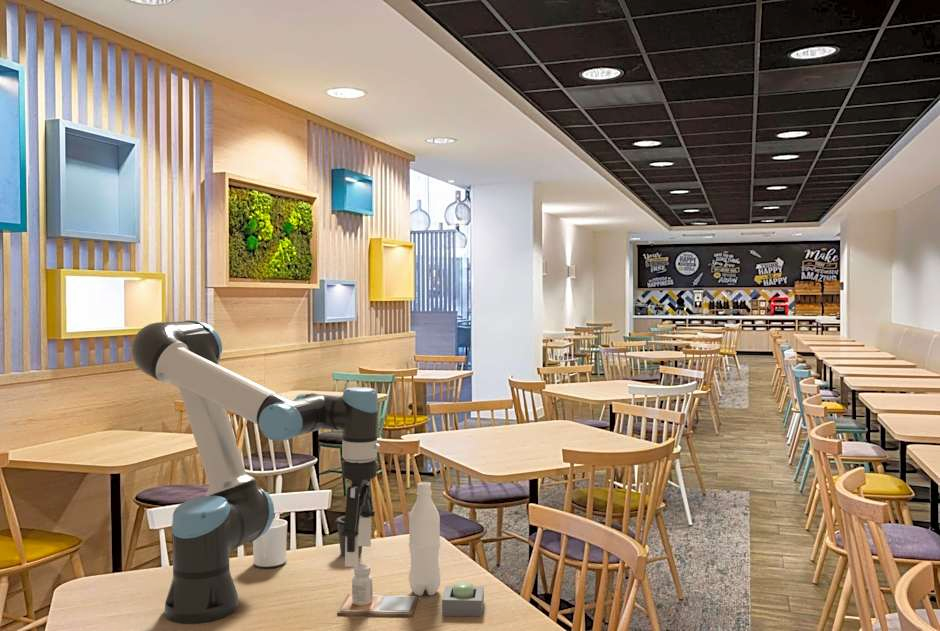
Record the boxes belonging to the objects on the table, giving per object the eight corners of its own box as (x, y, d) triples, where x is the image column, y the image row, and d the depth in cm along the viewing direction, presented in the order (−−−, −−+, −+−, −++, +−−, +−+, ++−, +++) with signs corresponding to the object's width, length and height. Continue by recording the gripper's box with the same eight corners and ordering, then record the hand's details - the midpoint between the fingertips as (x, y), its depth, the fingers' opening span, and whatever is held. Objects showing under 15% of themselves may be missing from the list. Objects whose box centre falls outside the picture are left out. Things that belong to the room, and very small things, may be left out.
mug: (260, 557, 213) (259, 518, 213) (292, 558, 212) (292, 519, 212) (242, 571, 202) (242, 530, 202) (277, 573, 201) (276, 531, 201)
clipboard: (337, 615, 174) (337, 611, 174) (347, 597, 185) (347, 593, 185) (411, 616, 173) (411, 612, 173) (418, 598, 183) (418, 594, 183)
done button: (452, 602, 175) (452, 589, 175) (454, 594, 180) (454, 582, 180) (472, 602, 175) (472, 589, 175) (474, 595, 180) (474, 582, 179)
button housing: (442, 615, 174) (441, 599, 174) (446, 601, 182) (445, 585, 182) (481, 616, 173) (481, 600, 173) (483, 601, 181) (483, 586, 181)
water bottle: (436, 598, 183) (435, 487, 183) (405, 596, 185) (404, 486, 184) (443, 587, 190) (443, 480, 190) (413, 585, 192) (413, 479, 191)
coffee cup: (331, 558, 212) (330, 519, 212) (341, 548, 220) (340, 511, 220) (361, 559, 211) (361, 521, 211) (370, 549, 219) (370, 512, 219)
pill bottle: (364, 597, 182) (364, 562, 182) (376, 602, 179) (376, 567, 179) (348, 602, 179) (347, 567, 179) (360, 607, 176) (360, 572, 176)
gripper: (365, 472, 166) (363, 576, 166) (386, 448, 191) (385, 538, 191) (328, 471, 166) (327, 574, 167) (354, 447, 191) (353, 537, 192)
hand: (358, 555), depth 179 cm, fingers open, 13 cm apart
